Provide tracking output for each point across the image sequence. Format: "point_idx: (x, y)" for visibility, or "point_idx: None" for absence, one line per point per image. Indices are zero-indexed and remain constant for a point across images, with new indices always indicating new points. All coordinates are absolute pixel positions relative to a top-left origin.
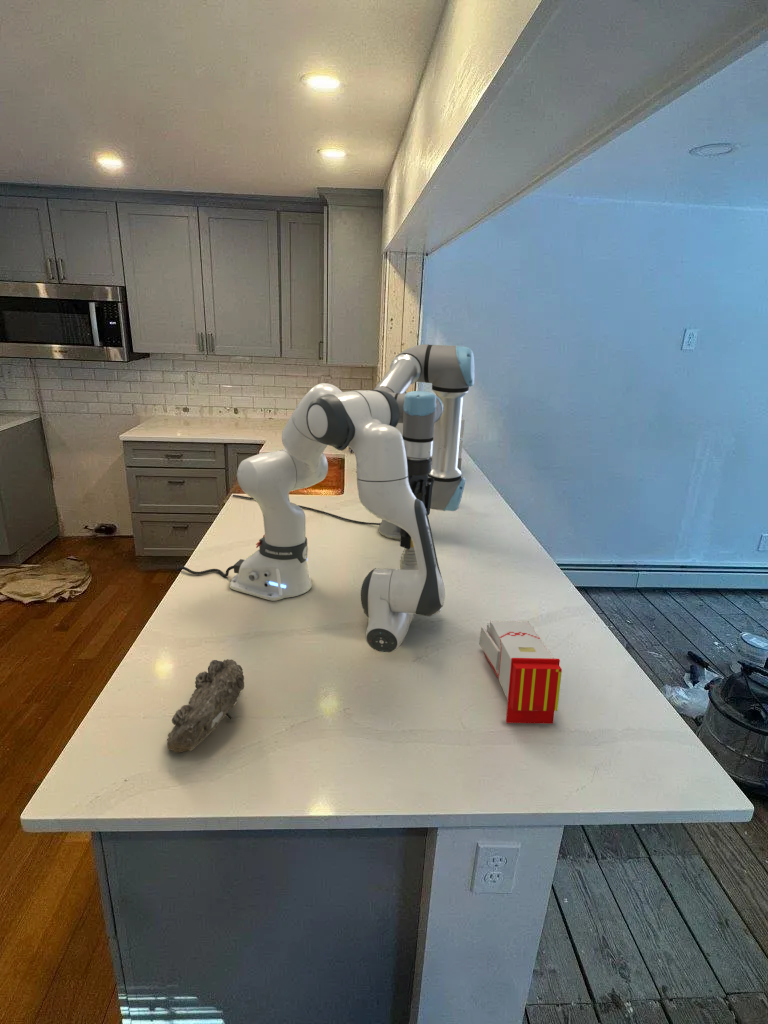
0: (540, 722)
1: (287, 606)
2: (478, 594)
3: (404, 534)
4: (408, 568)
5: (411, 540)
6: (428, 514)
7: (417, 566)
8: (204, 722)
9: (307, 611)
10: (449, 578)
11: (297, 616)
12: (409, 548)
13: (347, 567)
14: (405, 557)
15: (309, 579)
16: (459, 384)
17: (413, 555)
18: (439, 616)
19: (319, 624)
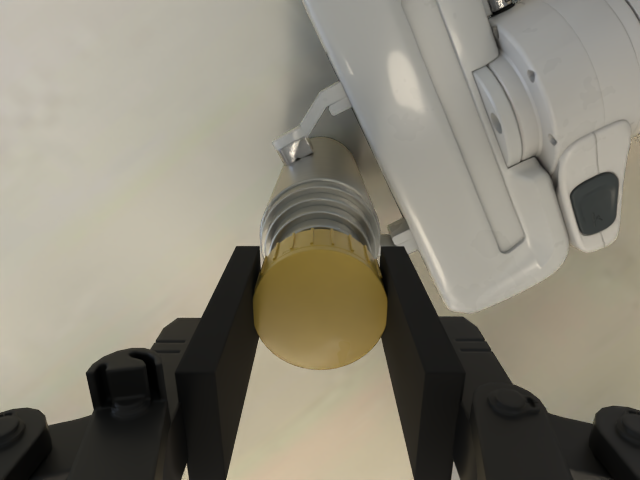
0: None
1: (582, 419)
2: (10, 12)
3: (479, 334)
4: (370, 200)
5: (366, 279)
6: (16, 415)
7: (321, 174)
8: None
9: (572, 366)
10: (17, 192)
11: (614, 364)
12: (390, 247)
13: (263, 469)
14: (375, 248)
15: (455, 478)
16: None
17: (344, 215)
18: (295, 23)
19: (616, 292)
